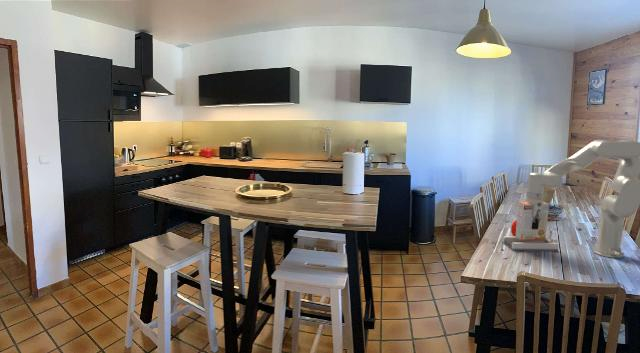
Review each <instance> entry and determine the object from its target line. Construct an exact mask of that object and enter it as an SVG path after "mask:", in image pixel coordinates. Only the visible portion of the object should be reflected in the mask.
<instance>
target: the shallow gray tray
mask: <svg viewBox="0 0 640 353" xmlns="http://www.w3.org/2000/svg"><path fill="white" fill-rule="evenodd" d="M503 243H504V244H503ZM502 244H503V245H504V246H506V247H507V246H508V247H507V248H509V249H510V248H511V249H510V250H511V251H513V250H524V251H525V252H527V251H528V252H529V251H530V252H532V251H533V252H534V251H535V252H559V243H558V242H551V241H549V240H548V237H547V236H546V239H545V241H521V240H519V239H517V238H516V237H513V235H512V236H509V235H508V236H503V237H502ZM524 251H523V252H524Z"/></svg>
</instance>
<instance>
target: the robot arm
mask: <svg viewBox="0 0 640 353" xmlns="http://www.w3.org/2000/svg"><path fill="white" fill-rule="evenodd" d="M600 158H602V159H603V158H604V159H618V166H617V170H616V173H615V175H614V177H613V180H612V182H611V189H612V191H614V192H616V193H618V195H617V194H608V195H606V196H603V198H602V199H601V202H600V223H599V227H598V228H599V229H598V237H597V242H596V244H597V245H596V247H593V248H592V252H593V253H595V254H597V255H599V256H602V257H605V258H611V259H612V258H613V259H621V258H624V256H625V253H624V252H622V248H621V245H622V238H623V231H624V225H625V219H628V218H631V217H633V216H634V215H635V213H636V212H637V210H638V208H639V206H640V179H639V178H638V177H639V175H640V142H639V141H635V140H628V139H627V140H626V139H621V140H603V139H595V140H593V141H591V142H590V143H589V142H588V144H587V145H585V146H584V147H582V148H581V149H579V150H578V151H577V152H576V153H574V154H573V155H571V156H570V157H567V158H565V159H563V160H562V161H559V162H558V163H556V164H554V165H552V166H551V167H550V168H549V169H547V170H545V171H544V172H543V173H542V172H530V173H529V174H528V179H527V180H528V181H527V189H526V199H525V202H529V203H531V204H532V217H533V222H532V229H538V226H539V222H540V220H541V219H542V216H543V190H544V187H549V188H554V189H558V188H560V187H562V185H563V184H564V178H563V177H564V176H566V175H568V174H570V173H574V172H578V171H582V170H585V169H587V167H588V166H590V165H591V164H593V163H594V162H596V161H597V160H599V159H600ZM535 215H538V216H535ZM535 218H536V219H535Z"/></svg>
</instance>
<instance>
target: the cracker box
mask: <svg viewBox="0 0 640 353" xmlns="http://www.w3.org/2000/svg"><path fill="white" fill-rule="evenodd" d="M549 210H550V204H548V203H545V202H543V216H542V219H541V220H540V222H539V226H538V229H532V222H533V217H532V204H531V203H529V202H526V201H518V204H517V216H516V220H517V225H516V238H517V239H519V240H521V241H545V239H546V237H547V228H548V218H549ZM535 216H538V215H535ZM535 219H536V218H535Z"/></svg>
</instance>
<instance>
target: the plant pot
mask: <svg viewBox="0 0 640 353" xmlns="http://www.w3.org/2000/svg"><path fill="white" fill-rule="evenodd" d="M555 191H556V188H549V187H544V190H543V202H545V203H548V204H549V205H550V203H551V201H552V199H553V197H554V194H555Z"/></svg>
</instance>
